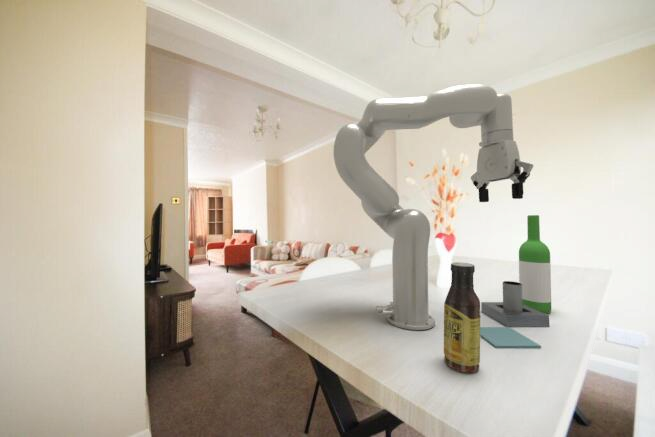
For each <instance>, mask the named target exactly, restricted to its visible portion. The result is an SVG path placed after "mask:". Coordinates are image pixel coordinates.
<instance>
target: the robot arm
mask: <svg viewBox="0 0 655 437" xmlns="http://www.w3.org/2000/svg"><path fill="white" fill-rule="evenodd" d="M512 101H513V100H512V97H511V95H510V94H508V93H499V94H498V93H497V91H496V90H495V89H494V88H493V87H491V86H489V85H485V84H460V85H455V86H450V87H446V88H444V89H441V90H437V91H434V92H431V93H427V94H425V95H421V96H407V97H382V98H374V99H373V100H371V101H370V102H368V104H367V106H366V107H365V110H364V111H363V114H362V117H361V119H360V120H359V122H357V124H355V123H347V124H345V125H343V126H342V127H341V128H339V130H338V131H337V133H336V136H335V139H334V144H333V160H334V164H335V170H336V171H337V173H338V176H339V177H340V178H341V180H342V181H343V183H344V184H345V185H346V187H348V188H349V189H350V190H351V191H352V192H353V193H354V194H355V196H357V198H358V199H359V200H361V206H362V209H363V212H364V213H365V214H366V215H367V216H368V217H369V218H370V219H371V220H372V221H373V222H374V223H375V224H376V225H377V226H379V228H380V229H381V230H382V231H383V232H384V233H386V234H387V236H389V237H390V238H391V239H393V246H392V259H391V260H392V301H389V304H388V305H386V306H385V305H384V306H383V305H376V306H375V310H376V314H382V316H387V321H388V322H389V323H390V324H391V325H393V326H395V327H398V328H401V329H405V330H411V331H424V330H430V329H431V328H433V327H435V325H436V322H435V318H434V317H433V316H432V315H430V314H429V267H428V266H429V265H428V263H429V262H428V260H429V259H428V258H429V257H428V256H429V242H430V239H431V238H430V236H431V225H430V220H429V219H428V217H427V215H426V214H424V212H422V211H421V210H418V209H413V208H407V209H404V208H403V207H402V206H401V205H400V197H399V194H398V192H397V191H396V189H395V188H394V187H393V186H391V185H390V184H389V183H388V182H387V181H386V180H385V179H384V178H383V177H382V176H381V175H380V174H379V173H378V172H377V171H376V170H375V169H374V168H373V167H372V165H370V163H369V162H368V160H367V158H366V155H365V154H367V152H368V151H369V150H370V149H371V148H372V147H373V146H374V145H375V144H376V143H378V141H379V140H380V139H381V138H382V136H383V135H385V133H386V131H391V130H393V131H395V130H416V129H417V130H418V129H422V128H425V127H428V126H429V125H432V124H434V123H436V122H438V121H440V120H442V119H445V118H448V120H449V122H450V124H451V126H453V127H454V128H457V129H468V128H473V127H477V126H480V134H481V137H480V138H481V141H480V142H479V143H478V145H479V147H480V148H479V149H478V153H477V160H476V161H477V162H476V171H475V173H473V174H472V175H471V176H470V179H471V182H472V184H473V186H474V187H475V188H476V189H477V190H478V201H479V203H489V200H490V197H489V188H487V187H488V186H489V184H490V183H491V182H498V181H505V180H511V182H513V183H511V198H512V199H513V200H514V199H515V200H517V199H518V200H520V199H523V198H524V184H525V183H526V180H527V179H528V178H529V177H530V175H531V172H532V170H533V168H534V164H532V163H531V162H525V161H521V157H520V152H519V148H518V144H517V142H516V141H515V140H514V129H513V128H514V126H513V124H514V123H513V105H512V103H513V102H512ZM522 169H523V170H522Z"/></svg>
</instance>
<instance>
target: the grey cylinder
mask: <svg viewBox="0 0 655 437" xmlns="http://www.w3.org/2000/svg"><path fill="white" fill-rule="evenodd" d="M502 302H503V309H504V310H506V311H508V312H523V306H522V284H521V283H519V282H518V281H513V280H512V281H509V280H504V281H502Z"/></svg>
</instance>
